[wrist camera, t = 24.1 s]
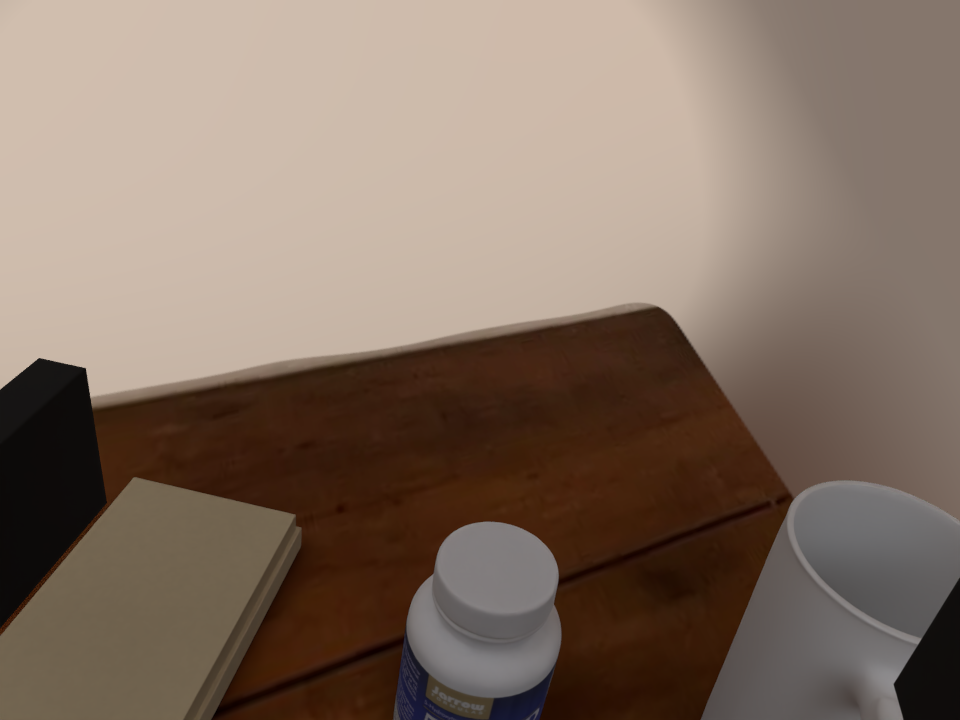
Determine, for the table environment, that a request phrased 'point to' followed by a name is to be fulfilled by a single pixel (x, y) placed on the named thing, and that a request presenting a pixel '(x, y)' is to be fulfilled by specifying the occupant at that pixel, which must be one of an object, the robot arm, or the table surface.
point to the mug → (839, 606)
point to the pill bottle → (482, 629)
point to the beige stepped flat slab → (148, 610)
